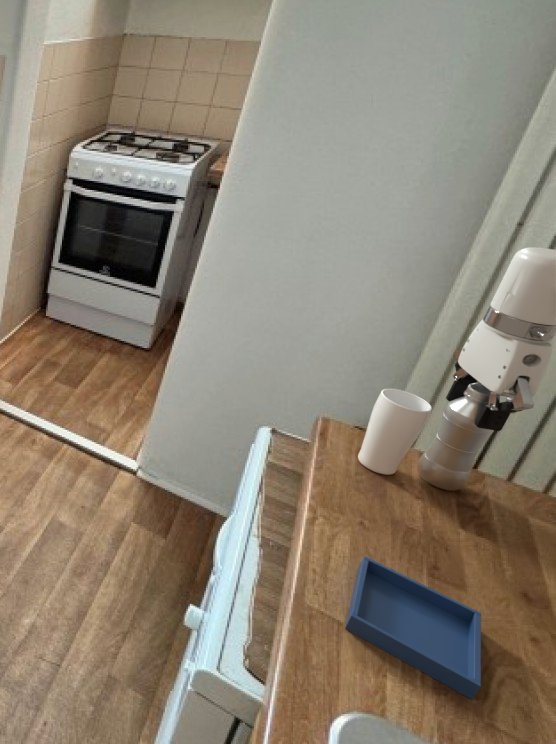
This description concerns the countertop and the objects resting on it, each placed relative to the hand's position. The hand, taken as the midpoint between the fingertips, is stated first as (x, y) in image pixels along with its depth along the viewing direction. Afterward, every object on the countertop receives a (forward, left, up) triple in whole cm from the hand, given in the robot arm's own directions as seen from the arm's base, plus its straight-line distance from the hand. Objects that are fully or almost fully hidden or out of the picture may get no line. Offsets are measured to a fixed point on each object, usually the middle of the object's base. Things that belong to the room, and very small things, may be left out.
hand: (472, 413), depth 102 cm
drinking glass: (+8, -1, -15) cm, 18 cm away
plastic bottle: (0, 0, -15) cm, 15 cm away
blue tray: (+21, +34, -15) cm, 43 cm away
